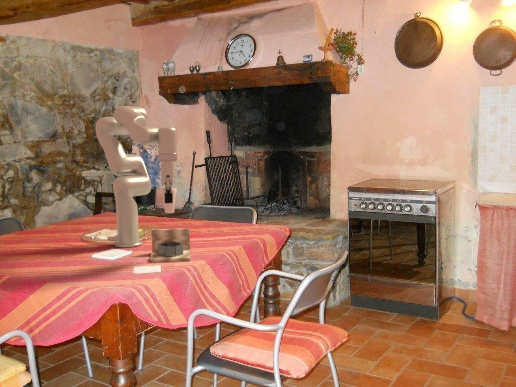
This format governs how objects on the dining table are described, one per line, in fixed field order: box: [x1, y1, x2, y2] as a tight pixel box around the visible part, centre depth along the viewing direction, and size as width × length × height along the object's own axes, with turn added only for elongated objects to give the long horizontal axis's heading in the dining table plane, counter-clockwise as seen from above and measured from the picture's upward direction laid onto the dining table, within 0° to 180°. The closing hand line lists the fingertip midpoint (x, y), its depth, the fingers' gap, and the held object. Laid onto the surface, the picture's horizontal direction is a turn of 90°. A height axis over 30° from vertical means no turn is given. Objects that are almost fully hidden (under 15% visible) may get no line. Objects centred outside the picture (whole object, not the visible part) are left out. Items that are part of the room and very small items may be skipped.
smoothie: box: [160, 187, 178, 214], centre depth 213 cm, size 6×6×14 cm
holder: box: [149, 227, 191, 263], centre depth 216 cm, size 16×16×10 cm
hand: (169, 201), depth 214 cm, fingers closed on smoothie, 6 cm apart
